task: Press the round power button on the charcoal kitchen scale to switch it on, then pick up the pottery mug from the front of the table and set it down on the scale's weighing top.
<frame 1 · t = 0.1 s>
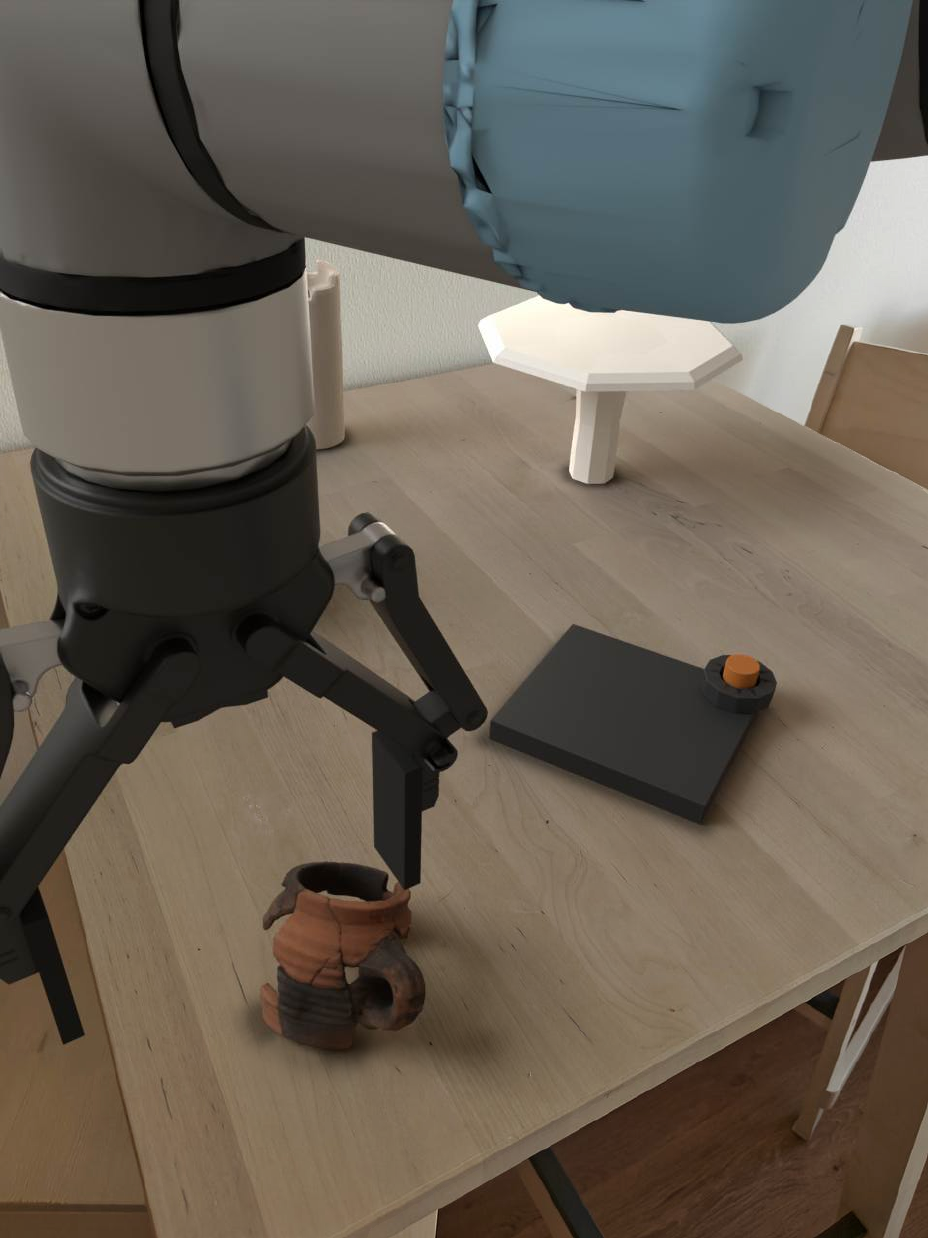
hand: (243, 933, 39), 19 cm above the table, tool pointing down, fingers open, 13 cm apart
candle: (286, 440, 119), on the table
scale: (628, 723, 80), on the table
teapot: (204, 595, 92), on the table
pottery mug: (349, 990, 59), on the table
scale button: (741, 671, 79), point 4 cm above the table, slide at 0.1 cm
table 2: (590, 475, 115), on the table
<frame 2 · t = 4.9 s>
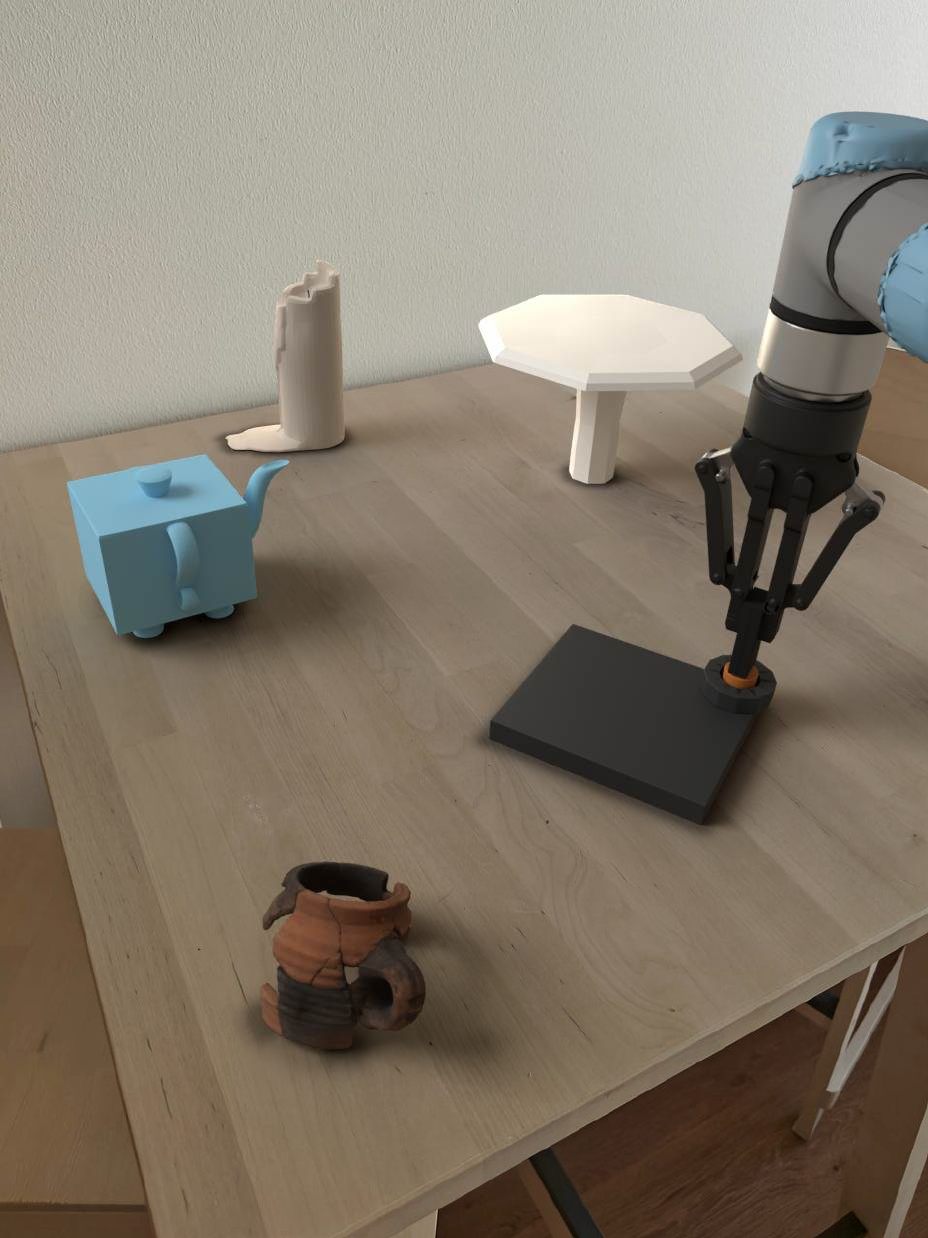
hand: (741, 666, 79), 4 cm above the table, tool pointing down, fingers closed
scale button: (739, 677, 79), point 3 cm above the table, slide at -0.5 cm, touching gripper
everything else where it was.
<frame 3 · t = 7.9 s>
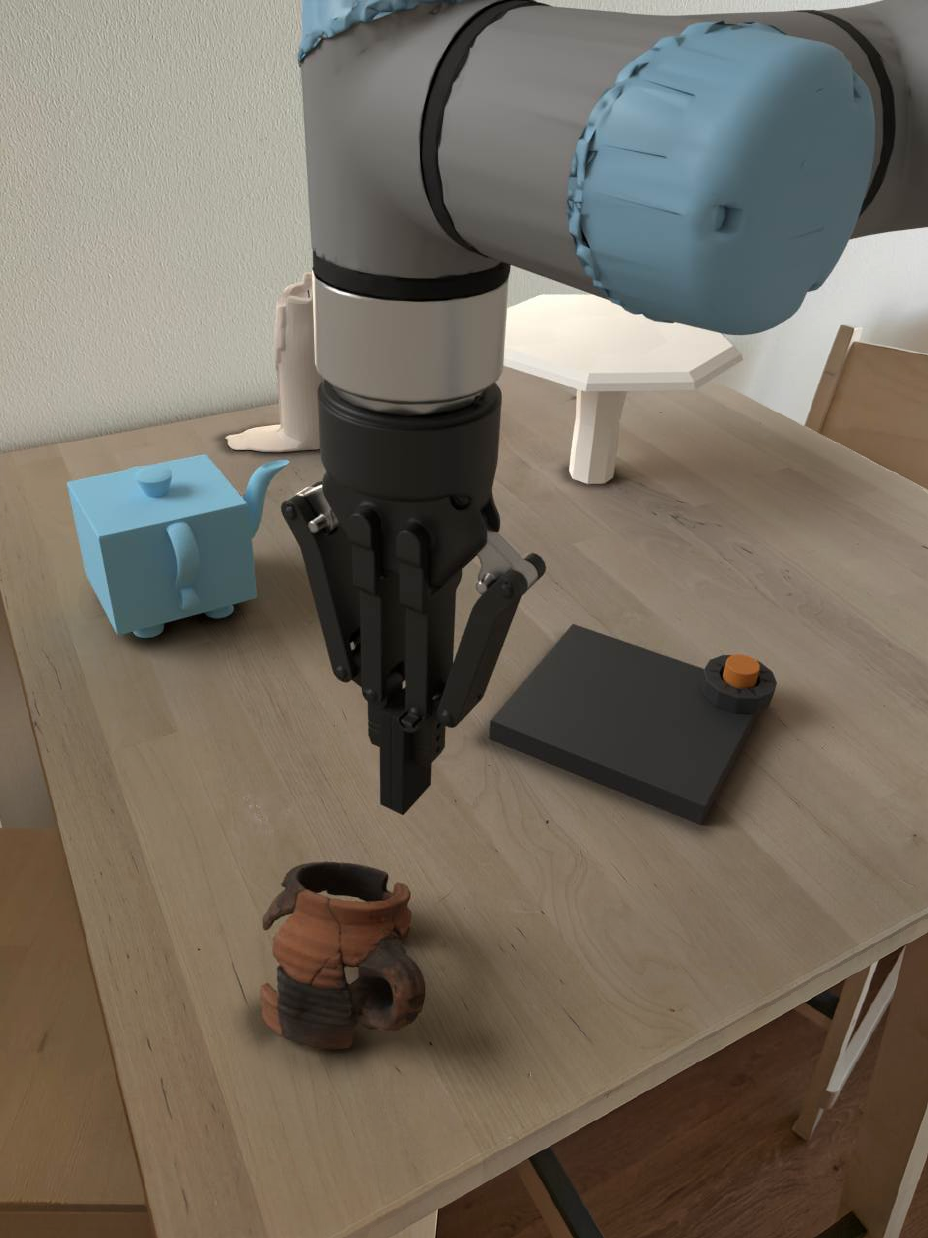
hand: (405, 794, 54), 13 cm above the table, tool pointing down, fingers closed
scale button: (741, 671, 79), point 4 cm above the table, slide at 0.1 cm
everything else where it was.
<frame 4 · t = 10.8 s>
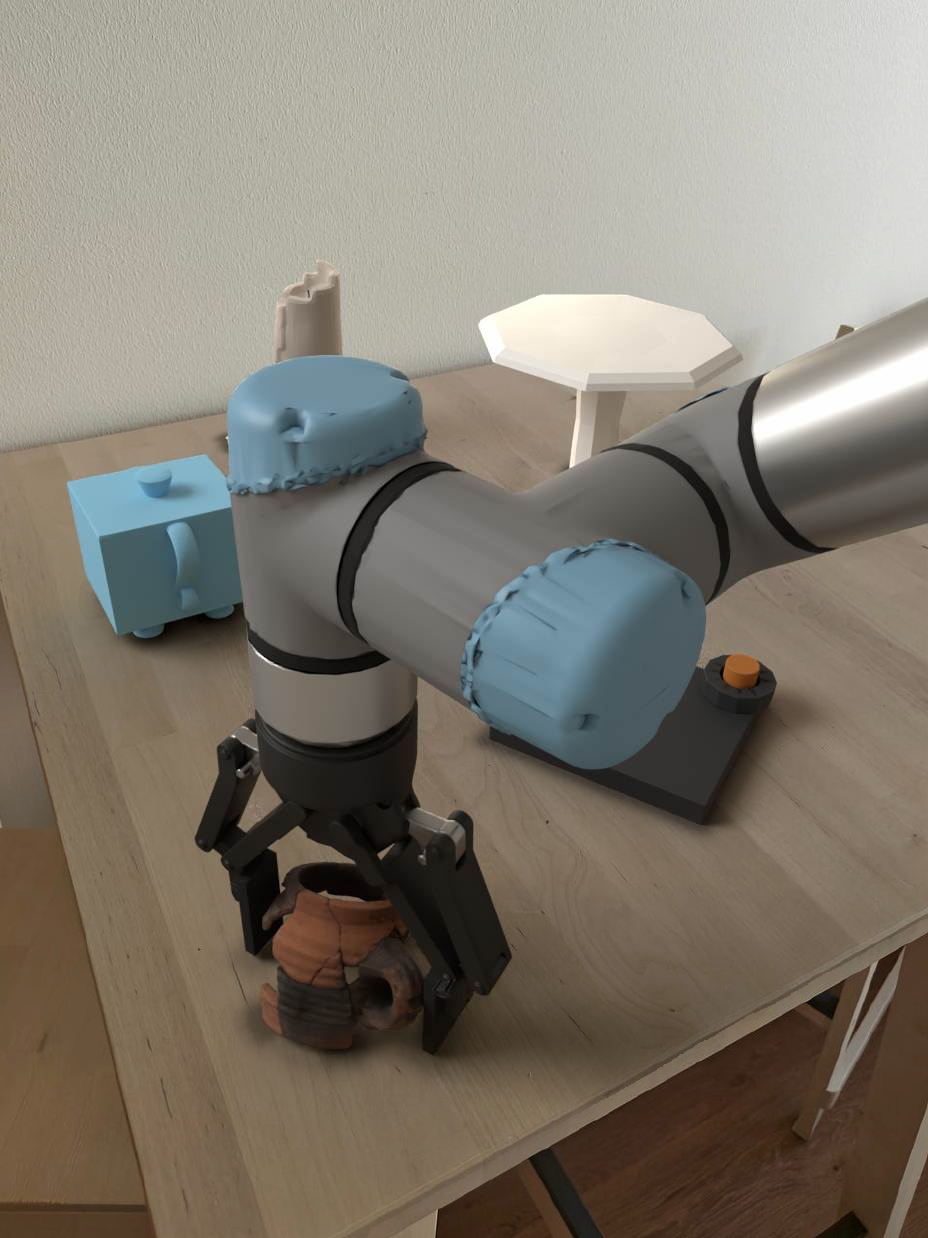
hand: (349, 984, 59), 0 cm above the table, tool pointing down, fingers closed on pottery mug, 12 cm apart
pottery mug: (349, 991, 59), on the table, touching gripper
everything else where it was.
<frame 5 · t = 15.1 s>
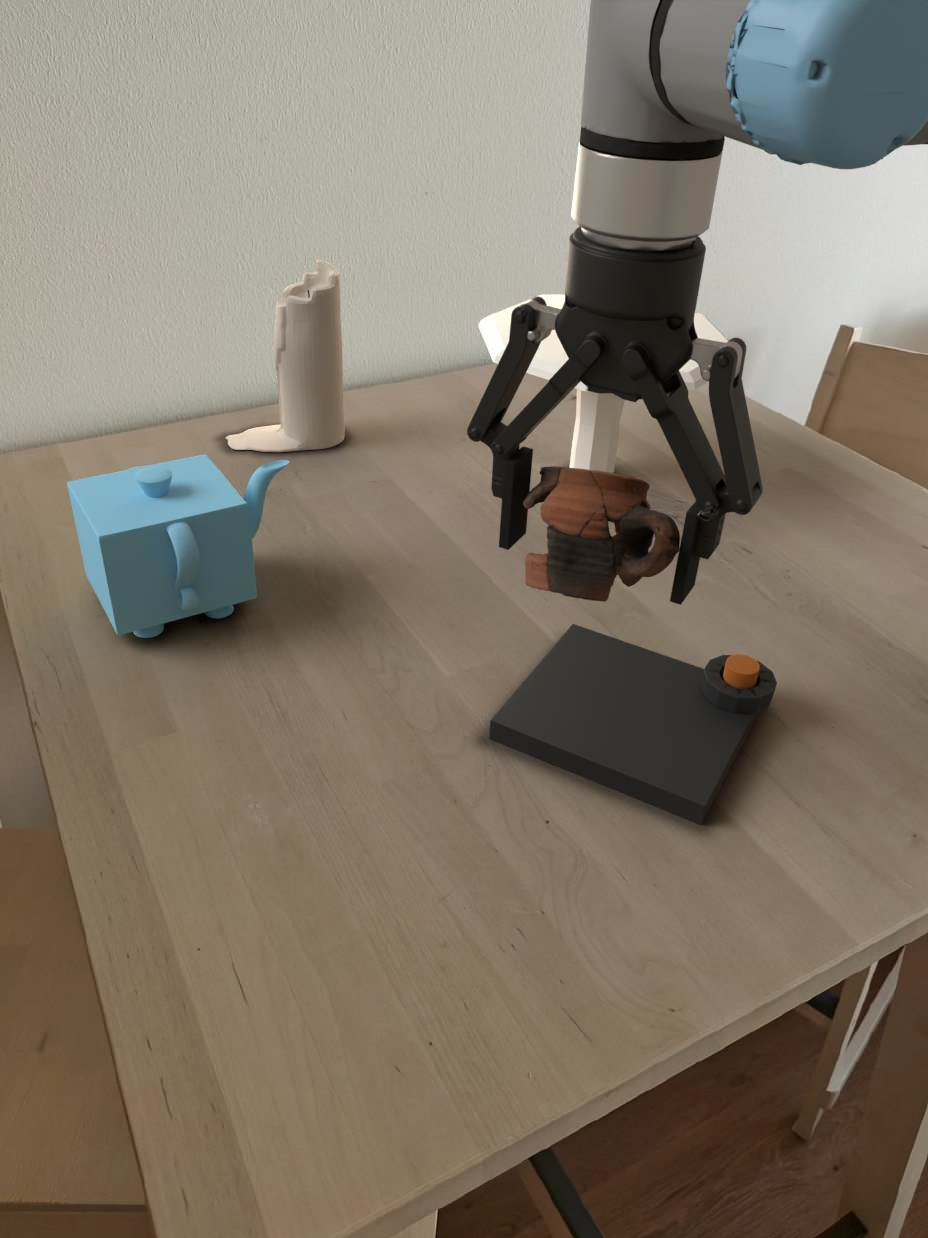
hand: (594, 566, 68), 16 cm above the table, tool pointing down, fingers closed on pottery mug, 12 cm apart
pottery mug: (593, 573, 68), point 16 cm above the table, touching gripper
everything else where it was.
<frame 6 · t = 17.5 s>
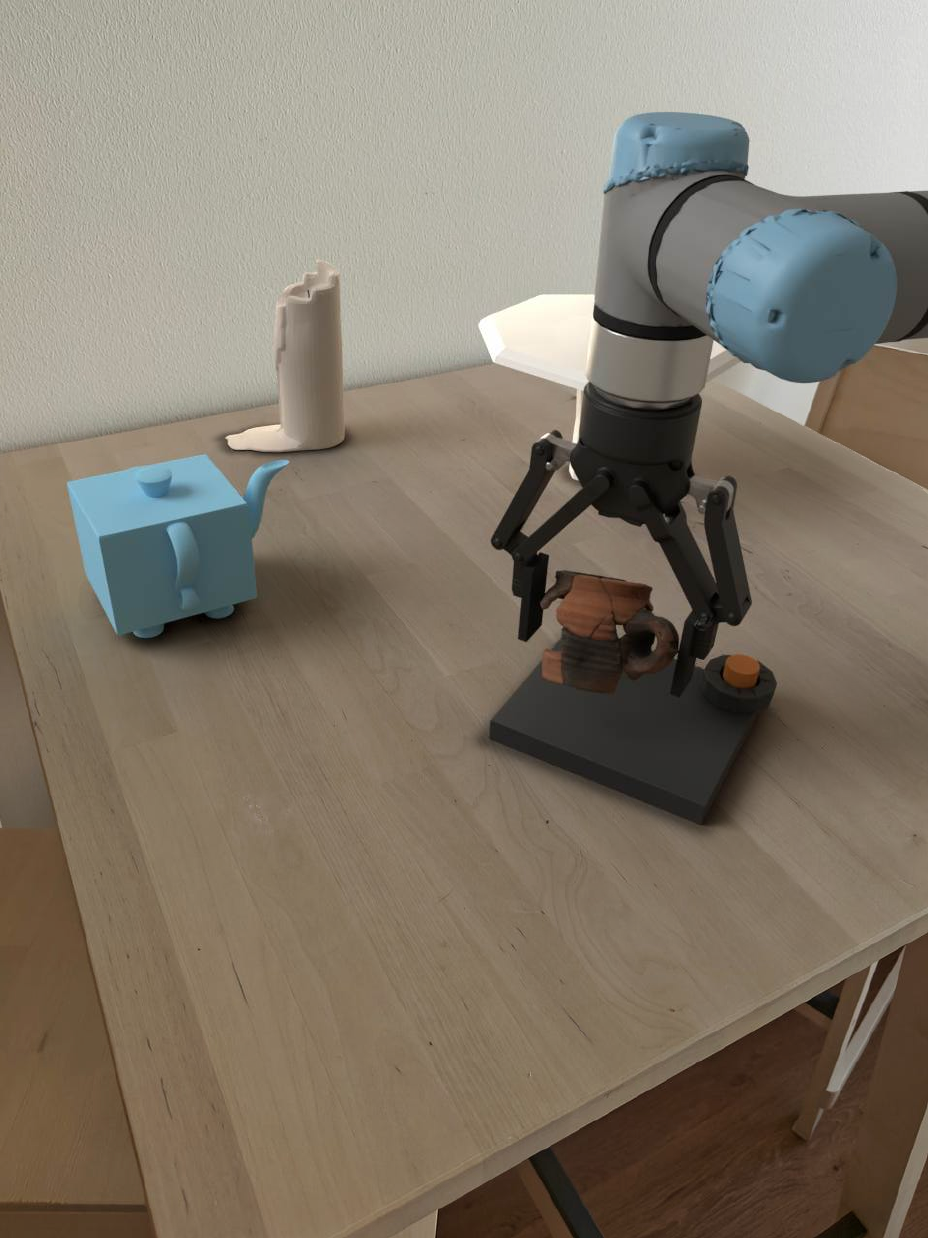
hand: (603, 658, 76), 6 cm above the table, tool pointing down, fingers closed on pottery mug, 12 cm apart
pottery mug: (602, 664, 77), point 5 cm above the table, touching gripper
everything else where it was.
when the fingers open (2 cm above the table, at t = 19.3 s): pottery mug stays where it is, resting on scale.
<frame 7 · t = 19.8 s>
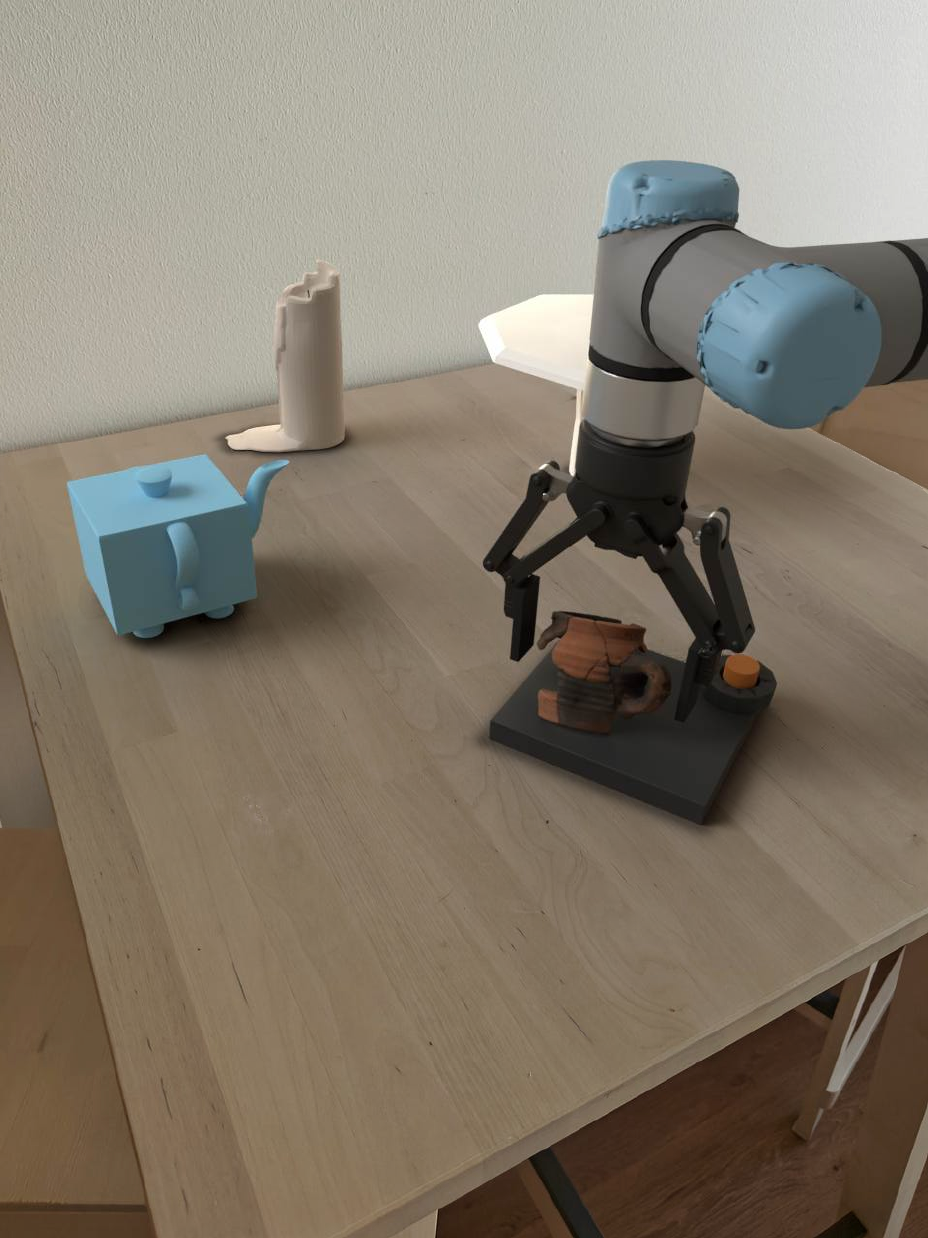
hand: (600, 681, 77), 4 cm above the table, tool pointing down, fingers open, 13 cm apart
pottery mug: (597, 703, 79), point 2 cm above the table, touching scale
everything else where it was.
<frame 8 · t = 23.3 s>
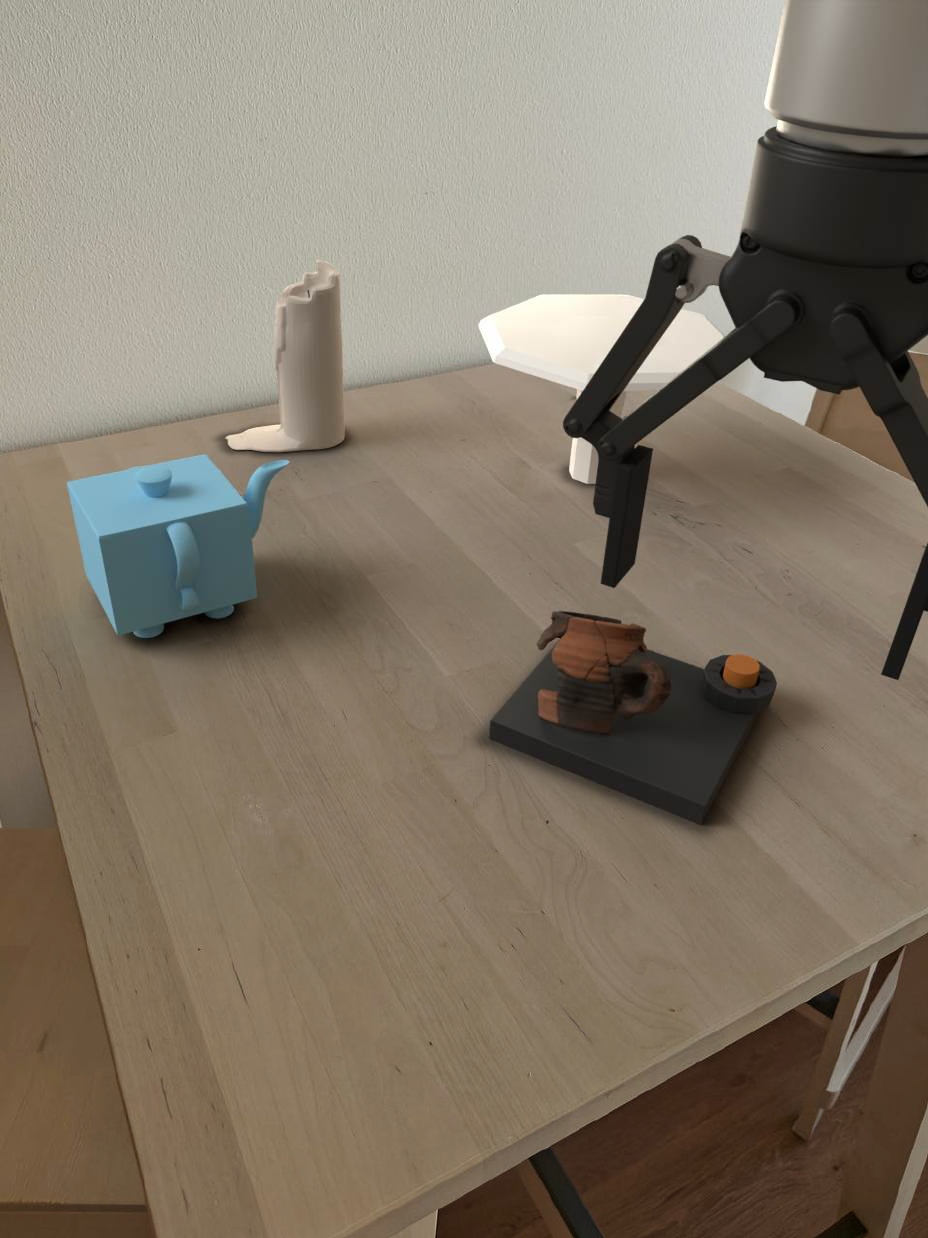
hand: (748, 616, 49), 25 cm above the table, tool pointing down, fingers open, 13 cm apart
nothing on the table moved.
at the end: scale button pushed in 0.8 cm at the most during the clip, back to where it started at the end; pottery mug inside the target area on the scale (0.1 cm from its centre), point 1.7 cm above the scale's base; pottery mug touching scale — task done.
